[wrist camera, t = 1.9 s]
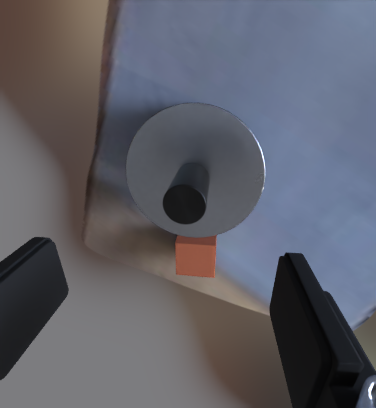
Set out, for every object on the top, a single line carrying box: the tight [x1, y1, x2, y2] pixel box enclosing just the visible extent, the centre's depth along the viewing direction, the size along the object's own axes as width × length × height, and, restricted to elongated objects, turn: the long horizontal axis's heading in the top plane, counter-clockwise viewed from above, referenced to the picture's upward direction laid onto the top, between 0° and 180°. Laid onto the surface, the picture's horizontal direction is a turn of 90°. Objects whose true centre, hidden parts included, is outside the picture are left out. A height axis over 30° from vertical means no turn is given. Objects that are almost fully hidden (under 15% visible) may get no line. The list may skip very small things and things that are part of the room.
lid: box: [126, 103, 265, 238], centre depth 18 cm, size 12×12×7 cm
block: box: [175, 235, 216, 278], centre depth 31 cm, size 5×5×5 cm
